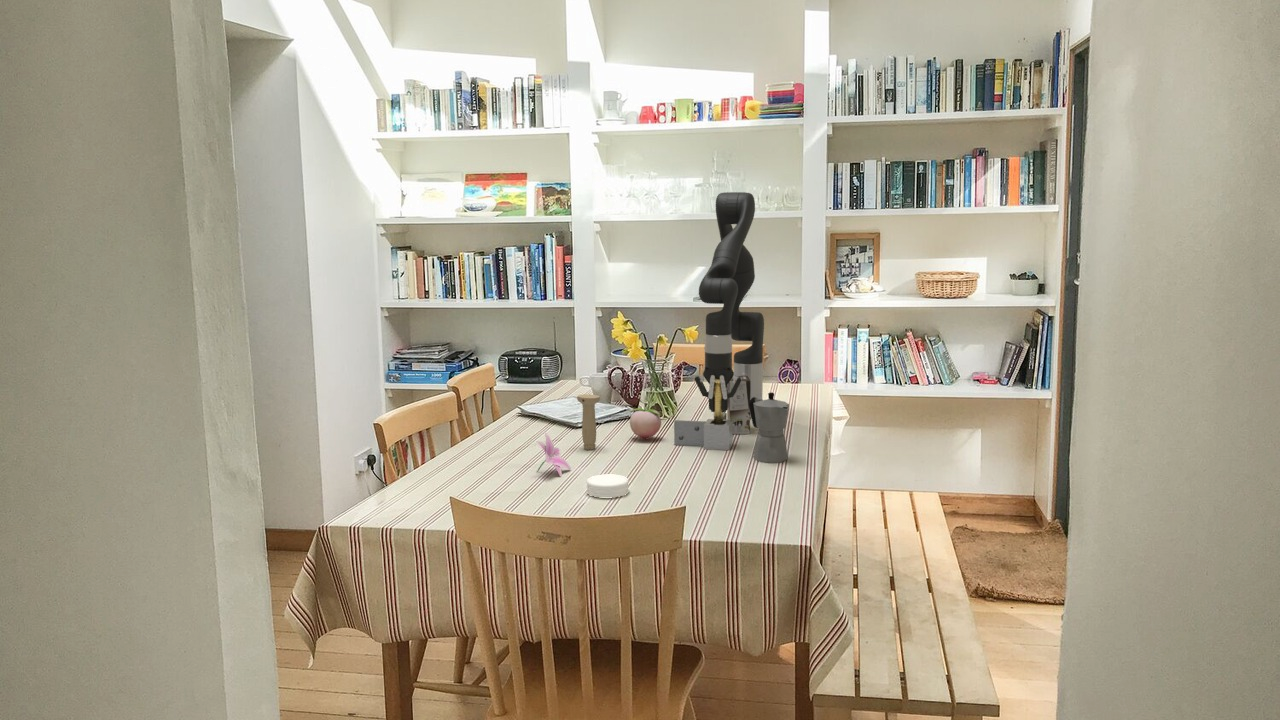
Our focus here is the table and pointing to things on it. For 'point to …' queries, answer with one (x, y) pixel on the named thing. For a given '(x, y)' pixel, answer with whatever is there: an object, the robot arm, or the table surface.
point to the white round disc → (607, 485)
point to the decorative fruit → (645, 422)
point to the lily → (553, 455)
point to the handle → (588, 419)
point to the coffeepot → (769, 428)
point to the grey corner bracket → (704, 433)
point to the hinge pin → (718, 403)
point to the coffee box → (740, 406)
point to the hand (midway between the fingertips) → (718, 411)
